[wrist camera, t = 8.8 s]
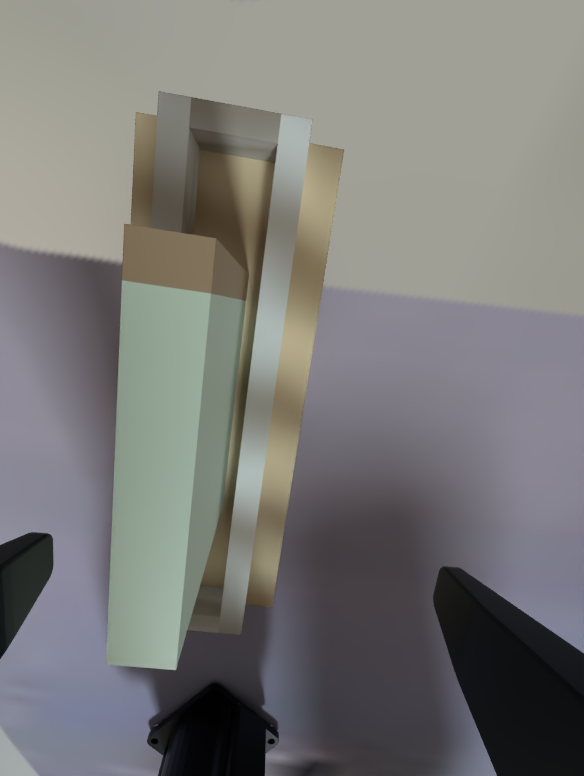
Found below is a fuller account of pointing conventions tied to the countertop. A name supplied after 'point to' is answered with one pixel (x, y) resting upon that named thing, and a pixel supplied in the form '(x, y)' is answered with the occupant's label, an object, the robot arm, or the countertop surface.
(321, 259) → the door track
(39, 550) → the robot arm
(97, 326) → the countertop surface
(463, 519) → the countertop surface
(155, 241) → the door panel
